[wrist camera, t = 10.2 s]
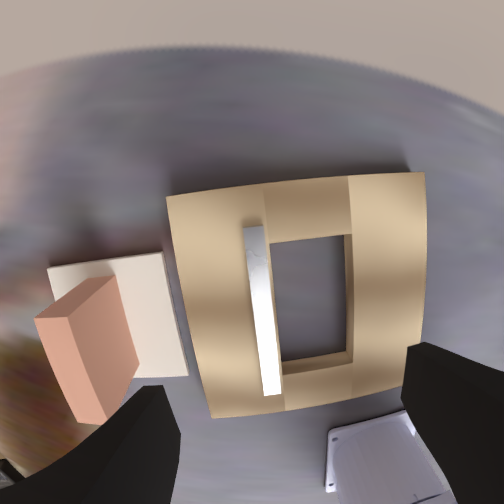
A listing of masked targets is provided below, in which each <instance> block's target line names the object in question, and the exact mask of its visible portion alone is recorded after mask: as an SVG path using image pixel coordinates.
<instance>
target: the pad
mask: <svg viewBox="0 0 504 504" xmlns="http://www.w3.org/2000/svg"><path fill="white" fill-rule="evenodd" d="M47 272H48V276H49V280H50V283H51V287H52V291H53V294H54V298H55V301H57V300H58V299H60V298H61V297H62V296H64V295H65V294H66V293H68V292H69V291H70V290H72V289H73V288H75V287H76V286H77V285H79V284H80V283H81V282H83V281H84V280H86V279H87V278H95V277H103V276H112V275H116V278H117V283H118V287H119V291H120V295H121V300H122V304H123V307H124V311H125V315H126V319H127V323H128V326H129V330H130V333H131V337H132V340H133V344H134V347H135V350H136V354H137V357H138V360H139V363H140V365H139V367H138V369H137V371H136V373H135V375H134V377H133V378H147V377H175V376H189V372H190V371H189V367H188V363H187V359H186V355H185V351H184V347H183V343H182V339H181V335H180V330H179V326H178V322H177V317H176V313H175V308H174V303H173V299H172V294H171V289H170V284H169V279H168V274H167V269H166V263H165V258H164V252H163V251H162V252H154V253H147V254H139V255H132V256H124V257H117V258H110V259H103V260H95V261H88V262H81V263H74V264H67V265H60V266H53V267H50V268H48V269H47Z"/></svg>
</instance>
